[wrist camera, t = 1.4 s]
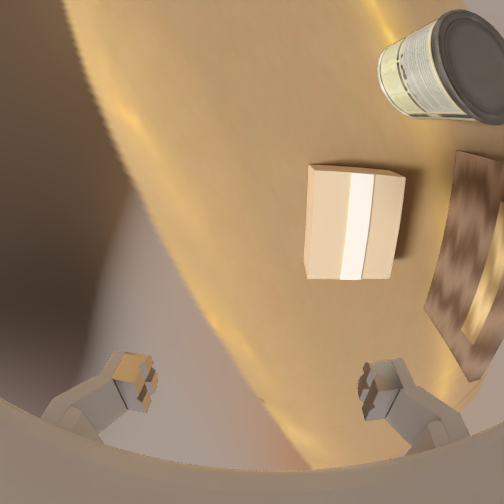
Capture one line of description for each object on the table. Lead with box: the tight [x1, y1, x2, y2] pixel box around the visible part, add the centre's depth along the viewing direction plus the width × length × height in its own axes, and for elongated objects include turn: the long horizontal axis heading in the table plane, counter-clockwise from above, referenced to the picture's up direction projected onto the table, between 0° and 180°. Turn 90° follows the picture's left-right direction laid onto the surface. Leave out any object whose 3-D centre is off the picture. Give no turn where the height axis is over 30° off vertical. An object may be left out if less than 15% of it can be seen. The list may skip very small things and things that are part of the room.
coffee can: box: [377, 9, 504, 125], centre depth 19 cm, size 10×10×14 cm
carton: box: [304, 164, 406, 280], centre depth 32 cm, size 12×10×5 cm
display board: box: [424, 150, 504, 382], centre depth 26 cm, size 24×7×16 cm, turn 0°
